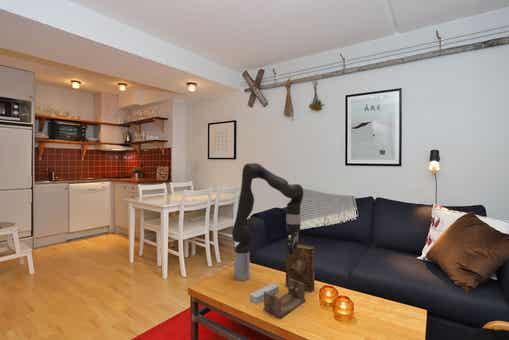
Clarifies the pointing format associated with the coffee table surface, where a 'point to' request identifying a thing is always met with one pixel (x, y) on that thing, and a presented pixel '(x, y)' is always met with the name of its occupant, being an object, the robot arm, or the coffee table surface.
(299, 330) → the coffee table surface
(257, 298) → the grey rectangular bar
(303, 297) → the shelf frame
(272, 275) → the coffee table surface
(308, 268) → the book
